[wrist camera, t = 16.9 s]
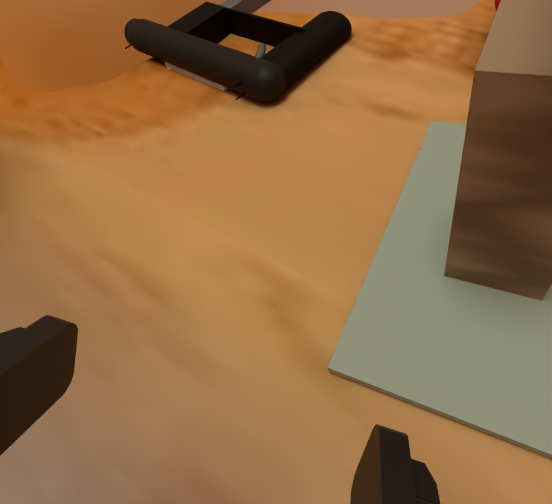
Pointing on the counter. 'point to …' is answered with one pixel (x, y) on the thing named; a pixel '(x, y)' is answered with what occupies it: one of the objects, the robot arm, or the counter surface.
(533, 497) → the counter surface
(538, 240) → the walnut block
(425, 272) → the mat
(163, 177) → the counter surface
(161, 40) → the door handle
